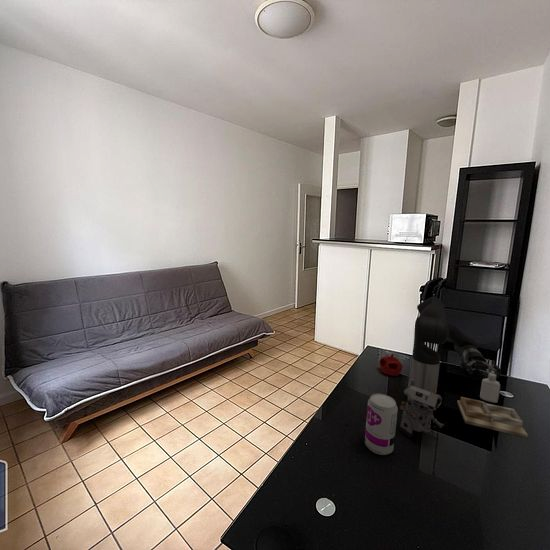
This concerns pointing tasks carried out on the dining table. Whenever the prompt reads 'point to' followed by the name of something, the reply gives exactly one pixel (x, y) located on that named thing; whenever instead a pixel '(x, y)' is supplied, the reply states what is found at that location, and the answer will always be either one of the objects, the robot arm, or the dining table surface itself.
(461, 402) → the wooden compartment tray
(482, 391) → the eye dropper bottle
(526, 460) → the dining table surface
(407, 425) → the figurine
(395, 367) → the pomegranate
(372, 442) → the supplement can
